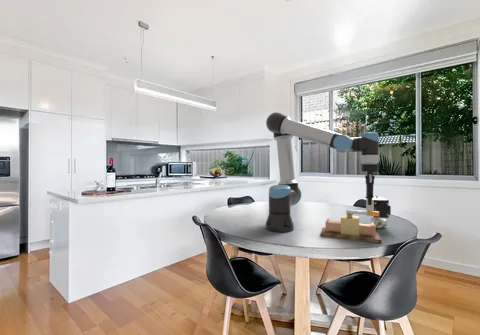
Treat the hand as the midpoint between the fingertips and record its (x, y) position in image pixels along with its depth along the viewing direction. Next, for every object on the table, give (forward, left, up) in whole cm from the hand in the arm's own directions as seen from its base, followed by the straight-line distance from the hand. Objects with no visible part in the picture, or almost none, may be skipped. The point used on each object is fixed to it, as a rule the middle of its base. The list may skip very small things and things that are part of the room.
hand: (369, 211), depth 122 cm
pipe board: (-9, -6, -12) cm, 16 cm away
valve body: (-9, -6, -11) cm, 15 cm away
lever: (-4, -6, -1) cm, 7 cm away
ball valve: (+6, +20, -12) cm, 24 cm away
